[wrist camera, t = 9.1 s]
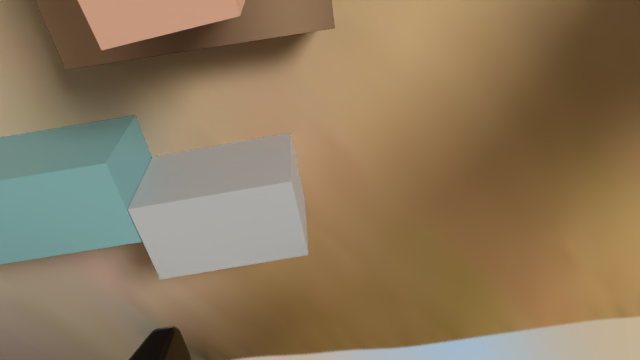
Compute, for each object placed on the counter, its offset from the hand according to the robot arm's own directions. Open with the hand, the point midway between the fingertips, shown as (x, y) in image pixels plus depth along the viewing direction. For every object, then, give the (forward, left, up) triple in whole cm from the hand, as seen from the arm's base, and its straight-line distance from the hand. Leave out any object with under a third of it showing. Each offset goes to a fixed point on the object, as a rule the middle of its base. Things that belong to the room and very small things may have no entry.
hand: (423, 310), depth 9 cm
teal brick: (+12, +2, -13) cm, 17 cm away
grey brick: (+6, +4, -13) cm, 14 cm away
